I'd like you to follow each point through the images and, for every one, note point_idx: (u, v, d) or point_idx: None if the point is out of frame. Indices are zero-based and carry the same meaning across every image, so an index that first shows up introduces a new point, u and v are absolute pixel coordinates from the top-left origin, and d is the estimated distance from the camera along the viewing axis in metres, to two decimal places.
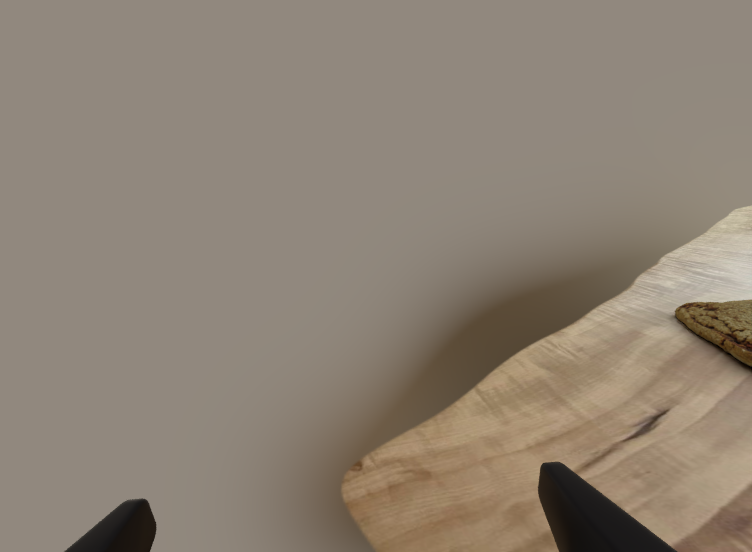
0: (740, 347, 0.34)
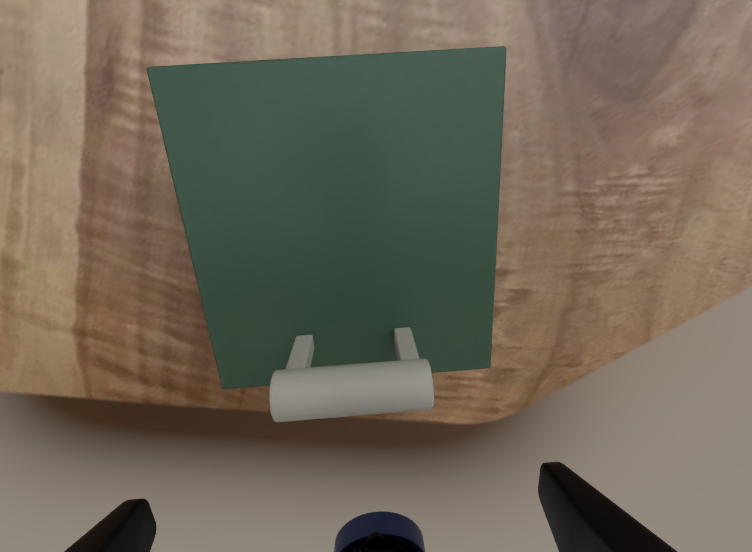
0: None
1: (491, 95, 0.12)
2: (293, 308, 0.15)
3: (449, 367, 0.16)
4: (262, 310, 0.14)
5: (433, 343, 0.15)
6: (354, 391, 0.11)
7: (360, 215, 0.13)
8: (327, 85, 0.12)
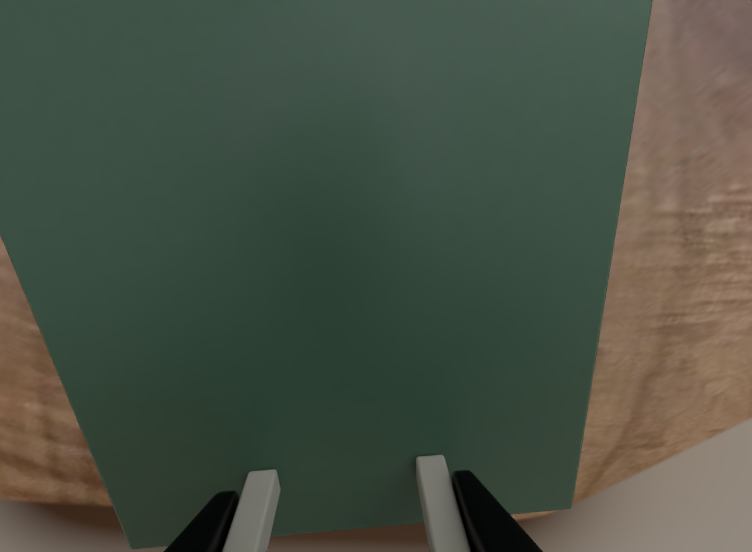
0: None
1: (621, 43, 0.06)
2: (241, 429, 0.08)
3: None
4: (187, 433, 0.08)
5: (482, 476, 0.09)
6: None
7: (357, 275, 0.07)
8: (287, 20, 0.06)
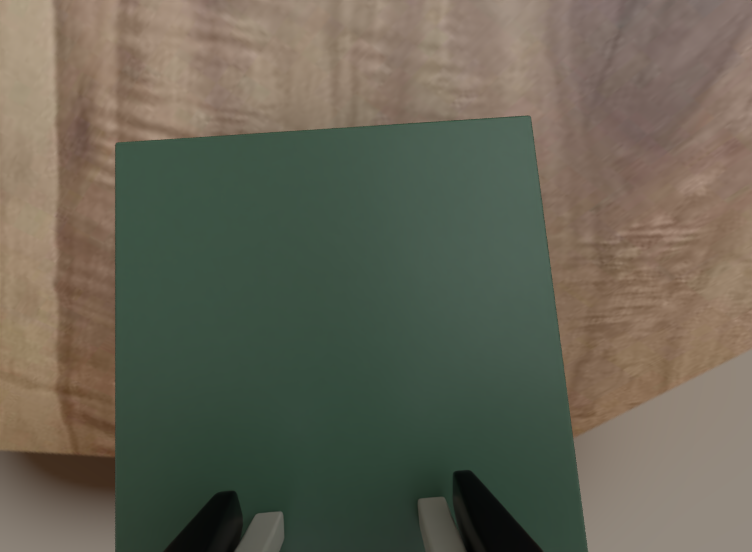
0: None
1: (521, 164, 0.10)
2: (256, 461, 0.09)
3: None
4: (207, 464, 0.09)
5: None
6: None
7: (362, 312, 0.10)
8: (323, 157, 0.10)
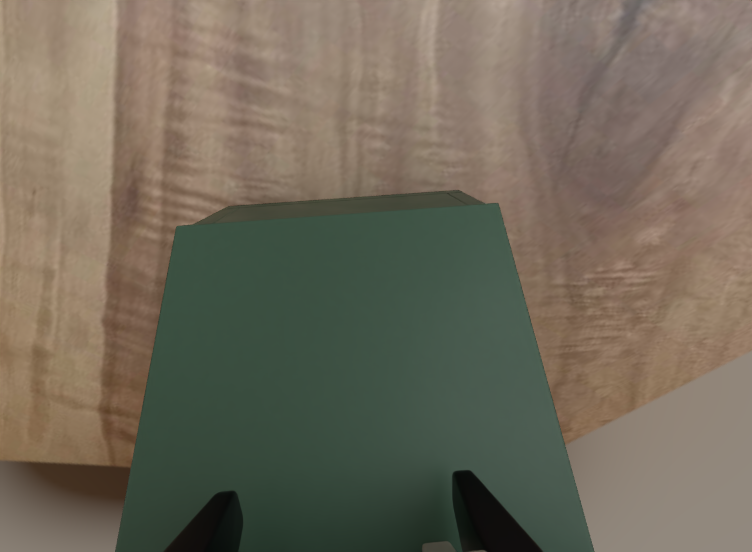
0: None
1: (495, 236, 0.13)
2: (261, 500, 0.09)
3: None
4: None
5: None
6: None
7: (366, 354, 0.11)
8: (336, 233, 0.13)
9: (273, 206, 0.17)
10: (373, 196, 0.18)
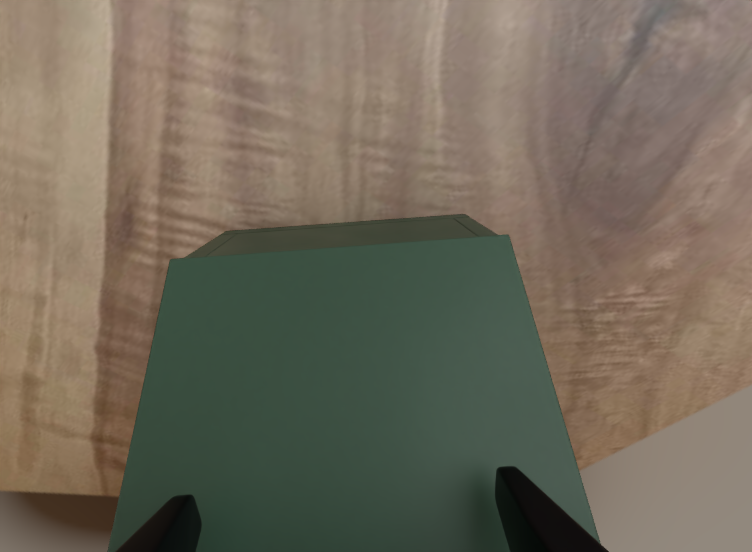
0: None
1: (506, 270, 0.12)
2: None
3: None
4: None
5: None
6: None
7: (370, 402, 0.10)
8: (338, 267, 0.12)
9: (272, 232, 0.17)
10: (376, 220, 0.18)
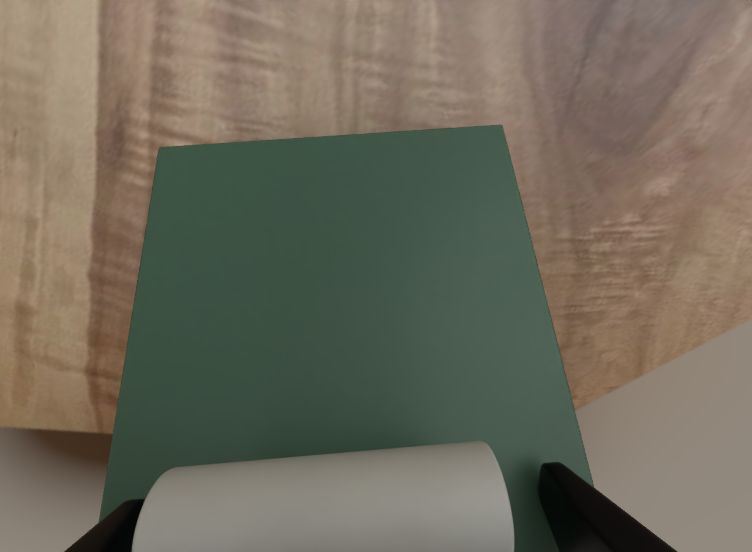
0: None
1: (497, 159, 0.12)
2: (254, 415, 0.09)
3: (529, 549, 0.08)
4: (206, 418, 0.09)
5: None
6: (330, 490, 0.05)
7: (361, 276, 0.10)
8: (329, 155, 0.12)
9: None
10: None
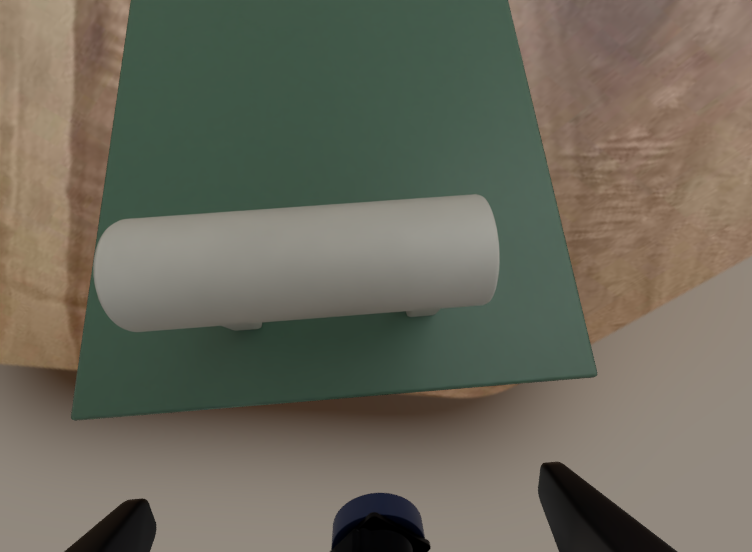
0: None
1: (496, 11, 0.11)
2: None
3: (516, 373, 0.08)
4: None
5: (478, 319, 0.08)
6: (305, 217, 0.05)
7: (349, 125, 0.10)
8: (316, 7, 0.11)
9: None
10: None
